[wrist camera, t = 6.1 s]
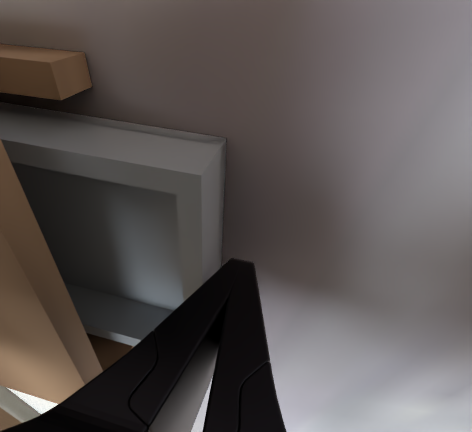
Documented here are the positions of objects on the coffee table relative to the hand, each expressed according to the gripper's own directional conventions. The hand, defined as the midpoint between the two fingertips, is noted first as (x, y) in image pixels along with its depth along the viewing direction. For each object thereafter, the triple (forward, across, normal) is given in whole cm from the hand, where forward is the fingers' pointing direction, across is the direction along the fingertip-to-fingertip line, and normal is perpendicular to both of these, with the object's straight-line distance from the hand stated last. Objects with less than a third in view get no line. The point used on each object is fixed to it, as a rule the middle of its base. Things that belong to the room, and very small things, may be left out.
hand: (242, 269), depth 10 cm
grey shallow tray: (+1, +6, 0) cm, 6 cm away
